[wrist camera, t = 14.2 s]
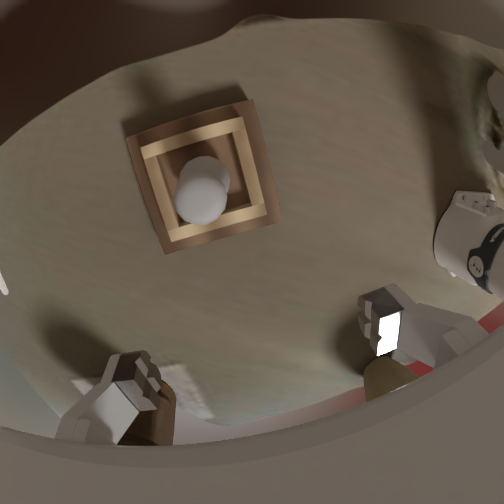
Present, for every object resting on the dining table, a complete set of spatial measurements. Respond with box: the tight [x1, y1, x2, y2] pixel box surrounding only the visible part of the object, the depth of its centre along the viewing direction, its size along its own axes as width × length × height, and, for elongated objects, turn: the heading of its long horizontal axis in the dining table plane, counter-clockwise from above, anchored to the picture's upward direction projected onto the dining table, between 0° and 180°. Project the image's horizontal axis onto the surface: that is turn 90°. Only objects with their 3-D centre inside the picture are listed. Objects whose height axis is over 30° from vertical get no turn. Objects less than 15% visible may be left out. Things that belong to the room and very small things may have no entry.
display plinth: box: [126, 99, 283, 255], centre depth 33 cm, size 16×16×5 cm
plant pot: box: [363, 356, 419, 402], centre depth 48 cm, size 15×15×16 cm
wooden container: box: [117, 381, 176, 446], centre depth 39 cm, size 15×15×22 cm
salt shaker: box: [173, 156, 230, 225], centre depth 26 cm, size 6×6×13 cm
